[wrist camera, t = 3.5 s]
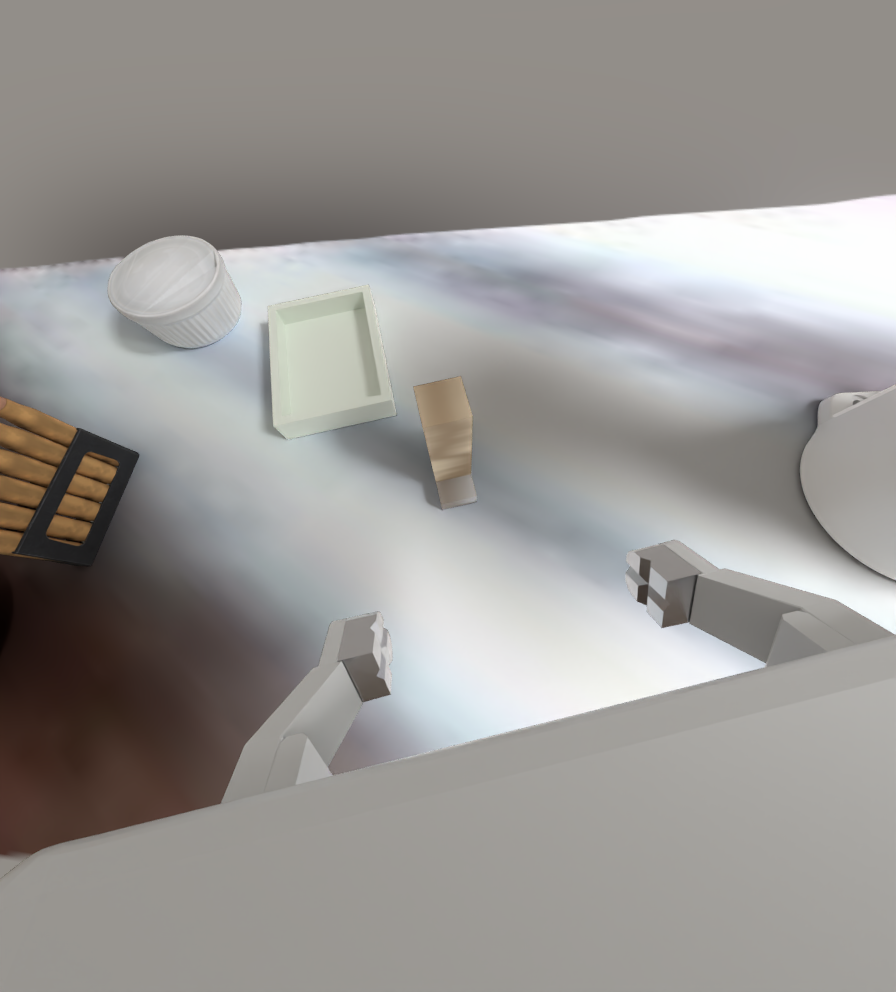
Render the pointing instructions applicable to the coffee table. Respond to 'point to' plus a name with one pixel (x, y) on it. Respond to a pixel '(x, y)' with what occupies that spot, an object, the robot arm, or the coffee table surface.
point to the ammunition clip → (57, 486)
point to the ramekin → (177, 291)
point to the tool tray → (327, 363)
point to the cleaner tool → (448, 439)
